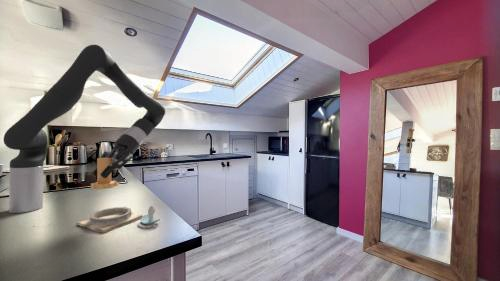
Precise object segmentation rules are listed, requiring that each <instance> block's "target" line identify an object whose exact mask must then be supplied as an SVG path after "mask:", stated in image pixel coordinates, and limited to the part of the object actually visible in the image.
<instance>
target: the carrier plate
mask: <svg viewBox="0 0 500 281" xmlns="http://www.w3.org/2000/svg"><path fill="white" fill-rule="evenodd" d="M143 216H144V215H143V214H138V213H136V212H135V213H134V212H132V210H131V208H129V207H124V206H122V207H121V206H120V207H119V206H118V207H110V208H109V207H108V208H103V209H101V210H96V211H95V212H93V213H91V214H90V216H89V218H85V219H82V220H79V221H77V222H76V226H78V225H80V226H79V227H82V226H83V227H82V228H85V227H86V229H88V230H92V231H95V232H98V233H102V234H105V233H108V232H110V231H113V230H115V229H118V228H120V227H123V226H125V225H129V224H131V223H133V222H136V221H139V220H141V218H142V217H143Z"/></svg>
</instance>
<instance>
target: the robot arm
mask: <svg viewBox="0 0 500 281" xmlns="http://www.w3.org/2000/svg"><path fill="white" fill-rule="evenodd" d="M95 72H98V73H101V74H102V75H103V76H105V77H106V78H108V79H109V80H110V81H111V82H112V83H113V84H115V86H116V87H117V88H118V89H119V90H120V91H119V92H121V93H122V94H123V96H124V97H125V98H126V99H127V100H129V102H131V104H133V105H134V106H135V108H136V107H137V108H139V109H141V108H143V109H145V110H146V112H145V113H144V116H143V117H141V118H139V119H137V120H136V121H135V122H133V124H132V125H131V126H130V127H129V128H128V129H126V130H125V131H124V132H123V133H122V134H121V135H120V136H119V137H118V138H117V139H116V140H115V141H114V148H113V149H111V150H110V151H109V152H108V151H103V153H102V154H101V155H100V157H99V158H111V163H110V164H109V166H107V167H106V168H105V169H104V171H103V172H102V173H101V174H100V176H102V177H103V178H107V177H108V176H109V175H110V173H111V174H112V172H113V171H115V170H117V169H118V170H120V169H122V167H124V166H125V165H126V164H127V163H128V162H130V161H131V160H133V158H134V156H133V155H134V154H135V153H136V151H137V150H138V149H139V148H140V146H141V145H142V144H143V143H144V142H145V140H147V137H148V136H149V135H150V134H151V132H152V131H153V130H154V129H155V128H156V127H157V126H159V124H161V122H162V120H163V119H164V117H165V115H166V108H165V107H164V105H163V104H162V103H161V102H160V101H158V100H156V99H154V98H153V97H151V96H150V95H148V94H147V93H146V92H145V91H144V90H143V89H142V88H141V87H140V86H139V85H138V84H137V83H136V82H135V81H133V80H132V78H130V77H129V76H128V75H127V74H126V73H125V72H124V71H123V70H122V69H121V67H120V66H119V64H118V63H117V62H116V60H115V59H114V58H113V56H112V55H111V54H110V52H108V51H107V50H105V49H104V48H103V47H102V46H100V45H98V44H90V45H89V44H88V45H87V46H85V47H84V48H83V49H82V51H80V53H79V55H78V56H76V59H75V60H74V61H73V62H72V64H71V66H70V67H69V68H68V69H67V70H66V71H65V72H64V73H63V74H62V76H60V78H59V80H57V81H56V82H55V83H54V84H53V85H52V86H51V87H50V88H49V90H47V92H46V93H45V94H44V95H43V96H42V97H41V99H40V100H38V101H37V103H35V104H34V106H32V107H31V109H30V110H29V111H28V112H27V113H26V114H24V115H23V117H21V118H20V119H18V121H16V122H15V123H14V124H12V125H11V126H10V127H9V128H8V129H7V131H6V132H5V133H4V135H3V143H4V145H5V146H6V147H7V148H8V149H9V150H15V151H19V152H18V155H17V156H15V157H14V158H12V159H10V161H9V187H8V188H9V192H8V194H9V195H8V213H9V214H10V213H11V214H22V213H28V212H33V211H36V210H40V209H42V208H43V206H44V205H43V204H44V203H43V202H44V163H45V160H46V158H47V153H48V136H47V133H46V131H45V130H44V128H45V126H47V125H48V124H50V123H51V122H52V121H54V120H56V119H58V118H60V117H62V116H63V115H65V114H67V113H68V112H70V110H72V108H73V107H75V106H76V105H77V103H78V102H79V101H80V100H81V98H82V96H83V92H84V90H85V85H86V83H87V81H88V79H89V78H90V77H91V76H92V75H93V74H94V73H95ZM91 175H92V176H93V177H94V178H97V167H96V168H95V169H94V170H93V171H92V173H91Z"/></svg>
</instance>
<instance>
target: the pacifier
mask: <svg viewBox="0 0 500 281" xmlns="http://www.w3.org/2000/svg"><path fill="white" fill-rule="evenodd" d="M155 212H156V208H155V206H154V205H151V206H149V208H148V211H147V214H145V215H143V217H142V218H141V219H140V222H137V226H138V228H139V227H140V228H141V229H149V228H152V227H154V226H155V224H156V223H157V222H159V221H160V220H161V219H160V218H158V219H155V217H154V214H155Z"/></svg>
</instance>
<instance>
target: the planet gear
mask: <svg viewBox="0 0 500 281" xmlns="http://www.w3.org/2000/svg"><path fill="white" fill-rule="evenodd" d="M110 163H111V158H100V157H98V158H97V159H96V165H97V166H96V168H97V177H96V179H97V181H96V182H93V183H90V189H91V190H105V189H106V190H107V189H112V188H114V187H117V186H118V185H119V183H118V181H117V180H112V172H111V173H110V175H109V176H108V177H107V178H103V177H102V176H100V174H101V173H102V172H103V171H104V169H105V168H106V167H107V166H109V164H110Z"/></svg>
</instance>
